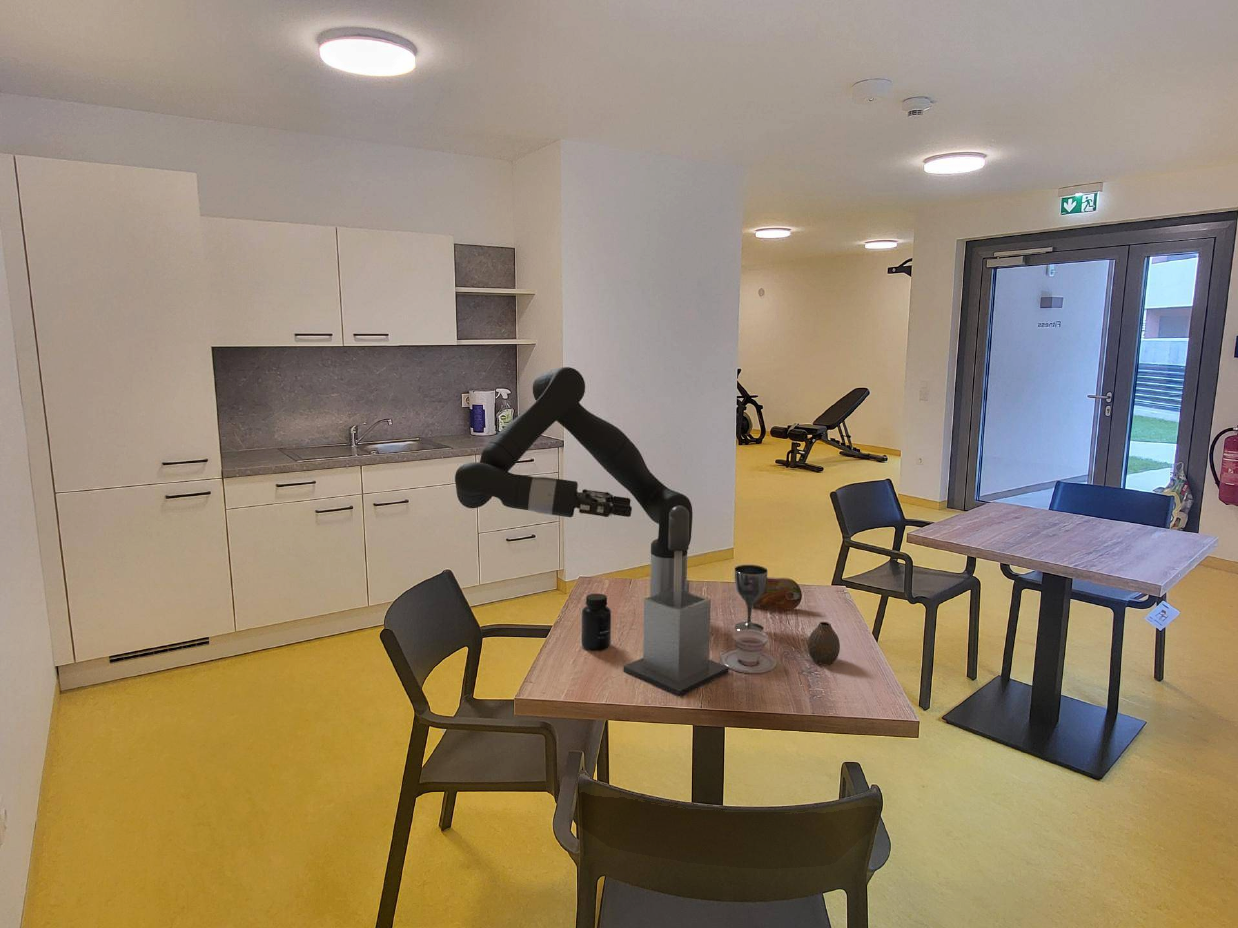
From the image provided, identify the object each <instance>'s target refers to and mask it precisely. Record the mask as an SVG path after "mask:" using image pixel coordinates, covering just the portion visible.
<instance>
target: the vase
mask: <svg viewBox="0 0 1238 928" xmlns="http://www.w3.org/2000/svg"><path fill="white" fill-rule="evenodd" d="M840 649H841V645H840V638H839V636H838V634H837V633H836V631H835V630H834V629H833V627H832V625H831V623H830V622H828V621H820V622H819V623H818V625H817V627H815V628H814V629H813V631H811V633H810V635H809V636H808V640H807V651H808V654H809V657H810V658H811V659H812V660H813V661H814V662H815V663H816V662H817V664H819V663H821V664H820V665H824V664H827V665H830V664H829V663H831V664H832V662H833V663H834V662H835V661H836V660H837V659H838V657H839V655H840Z"/></svg>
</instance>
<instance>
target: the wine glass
mask: <svg viewBox="0 0 1238 928" xmlns="http://www.w3.org/2000/svg"><path fill="white" fill-rule="evenodd" d="M767 577H768V569H767V567H764V566H761V565H757V564H740V565H737V566H735V567H734V584H735V589H736V591H737V593H738V595H739V596H740V597H741V598H742V600H743V601H744V603H745V605H746V609H747V611H746V612H747V621H742V622H741V621H740V622H737V623H735V624H734V626H733V628H734V629H735V630H736V631H739V630H745V629H751V630H757V631H761V632H763V631H764V627H763V625H762V624H759V623H756V622H752V621H751V620H752V611H753V607H752V606H753V604H754V603H755V601H756V600H757V599H758V598H759V597H760V596H761V595H762V594H763V593H764V590H765V587H766V583H767Z"/></svg>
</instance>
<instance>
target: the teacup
mask: <svg viewBox="0 0 1238 928" xmlns="http://www.w3.org/2000/svg"><path fill="white" fill-rule="evenodd" d="M732 640H733V642H734V643H735V646H736V648H737V649H734V650H730V651H727V652H725V653H724V654H723V655H722V656H721V663H722V665H725V666H727V667H729V670H731V671H735V672H739V673H744V674H763V673H767V672H770V671H772V670H774V669H775V667H776V666H777V661H776V659H775V658H774V657H773V656H772V655H771V654H768V653H766V652H763V651H764V648H765V645H767V644H768V642H769V636H768V635H767V634H766V633H765V632H763V631H757V630H751V629H745V630H739V631H738V630H736V631H735V632H734V633H733V634H732ZM739 660H740V661H741V663H742V664H741V663H739ZM758 662H759V664H758Z"/></svg>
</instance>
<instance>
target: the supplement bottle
mask: <svg viewBox="0 0 1238 928" xmlns="http://www.w3.org/2000/svg"><path fill="white" fill-rule="evenodd" d="M585 598H586V599H585V605H586V606H584V607H583V609H582V611H581V637H580V639H581V646H582V648H583V649H585V650H588V651H591V652H601V651H604V650H607V649H609V647H611V644H612V643H611V641H612V640H611V639H612V638H611V637H612V634H611V633H612V632H611V631H612V610H611V608H610V607H609V606H607V605H608V596H607V595H606V594H603V593H590V594H588V595H586V597H585Z"/></svg>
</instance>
